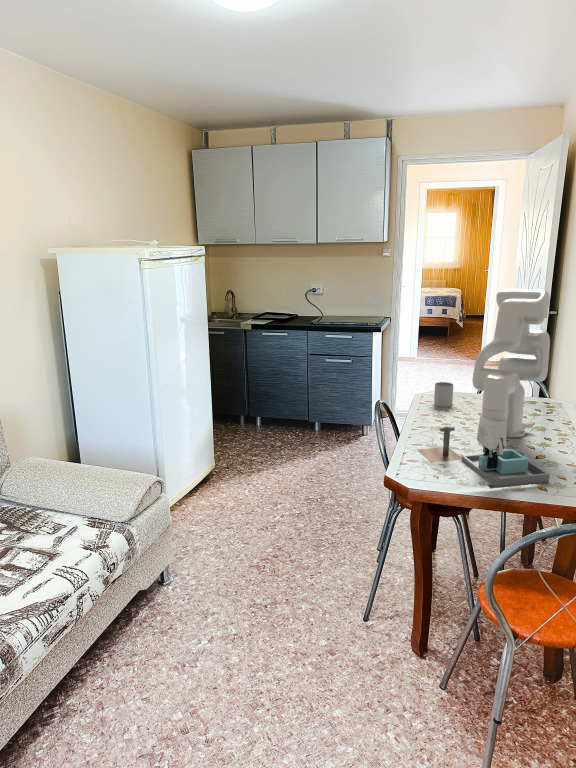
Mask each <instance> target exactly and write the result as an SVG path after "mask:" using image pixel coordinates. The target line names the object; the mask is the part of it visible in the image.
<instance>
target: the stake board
mask: <svg viewBox="0 0 576 768" xmlns="http://www.w3.org/2000/svg"><path fill="white" fill-rule="evenodd" d="M455 430H456V427H455V426H439V432H442V433H443V441H442V442H443V443H442V447H431V448H429V447H428V448H419V449H417V451H418V452H419V453H420V454H421V455H422V456H423V457H425V459H426V460H428V461H429V462H430V463H437V462H438V463H440V462H451V461H452V462H453V461H460V460H461V461H462V456H460V455H459V454H458V453H457V452H455V451H454V450H452V448H450V440H451V439H450V436H451V432H455Z"/></svg>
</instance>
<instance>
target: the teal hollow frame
mask: <svg viewBox="0 0 576 768" xmlns="http://www.w3.org/2000/svg"><path fill="white" fill-rule="evenodd" d="M495 451H496V450H495ZM493 452H494V451H493ZM488 457H489V455H487V456H479V459H478V465H477V466H478V467H479V468H481V469H482V470H483V471H485V472H488V471H496V472H498V473H499V474H500V475H506V474H520V473H528V471H527V469H528V460H529V458H528V457H527V456H525V455H523V454H521V453H519V452H518V451H517V450H515V449H513V448H508V449H506V448H505V449H503V455H499V457H498V461H497V468H491V469H488V468H487V462H488Z"/></svg>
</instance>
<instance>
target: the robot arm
mask: <svg viewBox="0 0 576 768" xmlns="http://www.w3.org/2000/svg"><path fill="white" fill-rule="evenodd" d="M495 299H496V304H497V308H498V311H497V317H496V323H495V330H494V334H493V339H492V340H491V341H490V342H489V343H487V344H486V345H485V346H484V347H483V348H482V349H481V350H480V352H479V353H478V354H477V357H476V359H475V363H474V368H473V372H472V386H473V388H474V389H476V390H478V391H482V403H481V413H480V416H479V422H478V425H477V426H478V428H477V434H476V440H477V442H478V444H480V445H481V446H482V452H483V453H482V454H484V455H483V456H487V455H489V457H488V462H487V468H488V469H491V468H497V461H498V457H499V455H503V450H505V449H506V444H507V438H515V439H516V438H521V437H524V436H525V435H526V430H525V429H530V428H531V429H532V428H533V427H534V423H533V422H526V421H523V418H524V417H523V416H524V415H523V414H524V405H525V398H526V397H525V396H526V395H525V394H526V391H525V388H524V386H523V384H522V383H521V381H522V382H523V381H524V382H536V383H537V382H538V383H539V382H543V381H545V380H546V379H547V376H548V372H549V361H550V349H551V337H550V335H549V332H547V331H545V330H543V329H542V330H541V329H530V325H537V326H539V325H541V324H542V323H543V322H544V321H545V318H546V315H547V313H548V310H549V306H550V294H549V292H548V291H547V290H545V289H536V288H535V289H532V288H531V289H528V288H527V289H525V288H503V289H501V290H499V291H498V292H497V294H496V298H495ZM505 352H507V353H508V354H507V355H504V356H502V357H501V358H499V361H498V364H497V365H498V368H497V369H496V368H487V367H485V365H486V362H488V360H489V359H490V358H492V357H494V356H496V355H498V354H500V353H501V354H502V353H505ZM484 367H485V368H484ZM495 450H496V451H495ZM493 451H494V452H493Z"/></svg>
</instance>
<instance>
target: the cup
mask: <svg viewBox="0 0 576 768" xmlns="http://www.w3.org/2000/svg"><path fill="white" fill-rule="evenodd" d="M433 395H434V398H433V405H434V404H435V405H437V406H436V407H438V406H442V407H441V408H450V407H449V406H451V407H452V406H453V399H454V384H453V383H452V382H448V381H447V382H445V381H443V382H441V381H440V382H439V381H437V382H436V383H435V384H434V394H433ZM435 405H434V406H435Z"/></svg>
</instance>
